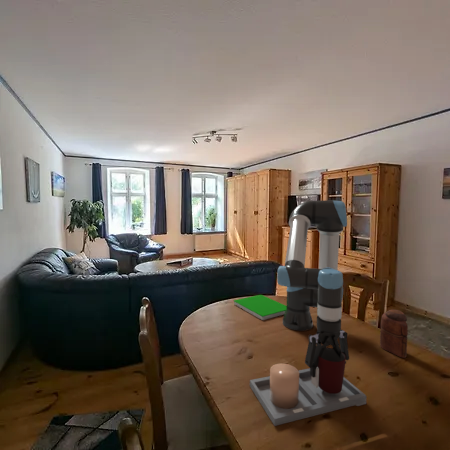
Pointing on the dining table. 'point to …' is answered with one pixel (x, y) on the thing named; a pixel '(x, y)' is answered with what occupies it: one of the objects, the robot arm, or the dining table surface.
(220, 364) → the dining table surface
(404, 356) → the brown leather pouch
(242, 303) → the book
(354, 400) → the holder
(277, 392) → the peach rounded cylinder
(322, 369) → the mug
